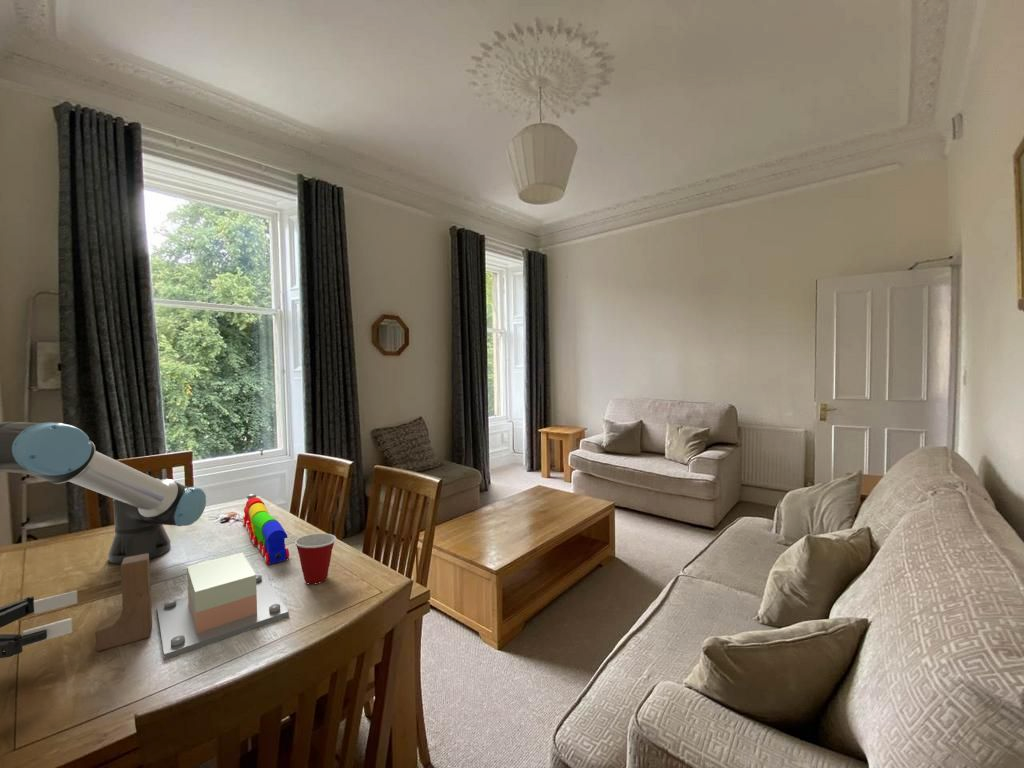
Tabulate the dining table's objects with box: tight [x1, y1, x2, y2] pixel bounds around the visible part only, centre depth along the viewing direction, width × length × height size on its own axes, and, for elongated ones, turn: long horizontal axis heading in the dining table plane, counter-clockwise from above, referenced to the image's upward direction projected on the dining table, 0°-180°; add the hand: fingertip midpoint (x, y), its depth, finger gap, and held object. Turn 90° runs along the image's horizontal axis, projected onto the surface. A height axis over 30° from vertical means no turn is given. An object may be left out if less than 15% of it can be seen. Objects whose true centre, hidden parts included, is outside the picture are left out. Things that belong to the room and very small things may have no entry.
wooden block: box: [95, 553, 153, 652], centre depth 98 cm, size 9×4×18 cm, turn 125°
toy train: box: [242, 493, 290, 565], centre depth 152 cm, size 45×7×11 cm, turn 41°
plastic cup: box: [294, 533, 337, 585], centre depth 126 cm, size 11×11×12 cm
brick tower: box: [156, 552, 290, 661], centre depth 109 cm, size 24×24×11 cm
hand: (74, 609), depth 93 cm, fingers open, 13 cm apart
